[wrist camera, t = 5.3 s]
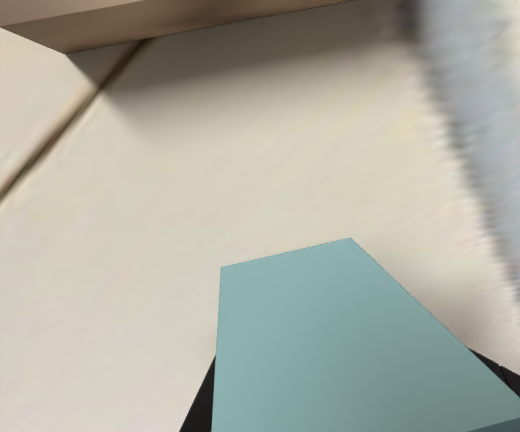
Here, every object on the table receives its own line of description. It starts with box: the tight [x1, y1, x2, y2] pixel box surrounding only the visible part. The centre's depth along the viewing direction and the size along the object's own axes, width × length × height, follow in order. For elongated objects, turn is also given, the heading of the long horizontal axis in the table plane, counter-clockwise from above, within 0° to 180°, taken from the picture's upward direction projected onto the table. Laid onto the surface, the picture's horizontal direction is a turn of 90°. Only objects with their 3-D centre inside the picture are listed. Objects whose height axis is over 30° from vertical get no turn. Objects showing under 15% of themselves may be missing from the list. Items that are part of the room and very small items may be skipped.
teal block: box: [211, 238, 520, 432], centre depth 7 cm, size 5×5×6 cm
